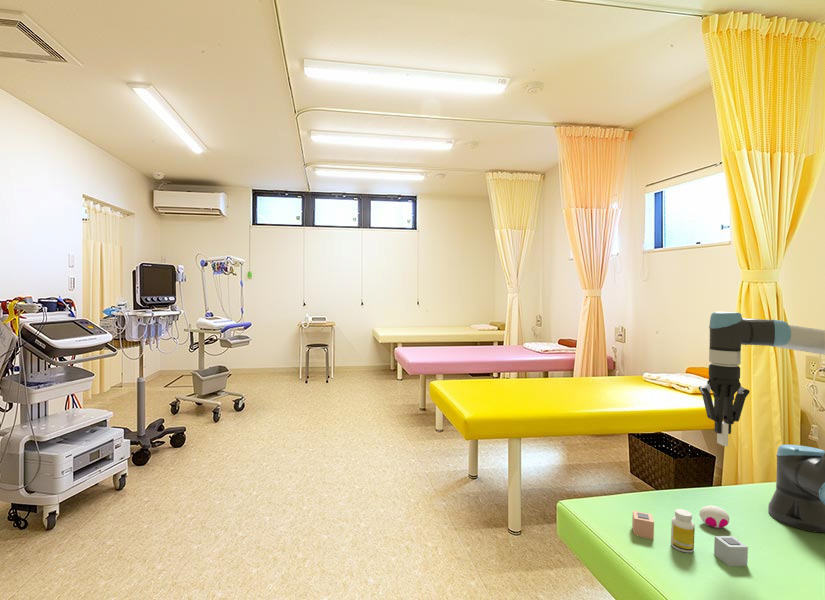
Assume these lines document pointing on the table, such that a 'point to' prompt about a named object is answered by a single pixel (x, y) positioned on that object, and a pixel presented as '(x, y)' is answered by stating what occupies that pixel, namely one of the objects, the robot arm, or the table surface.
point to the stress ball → (714, 516)
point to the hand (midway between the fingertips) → (722, 444)
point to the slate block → (730, 551)
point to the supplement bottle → (682, 531)
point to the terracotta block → (643, 524)
